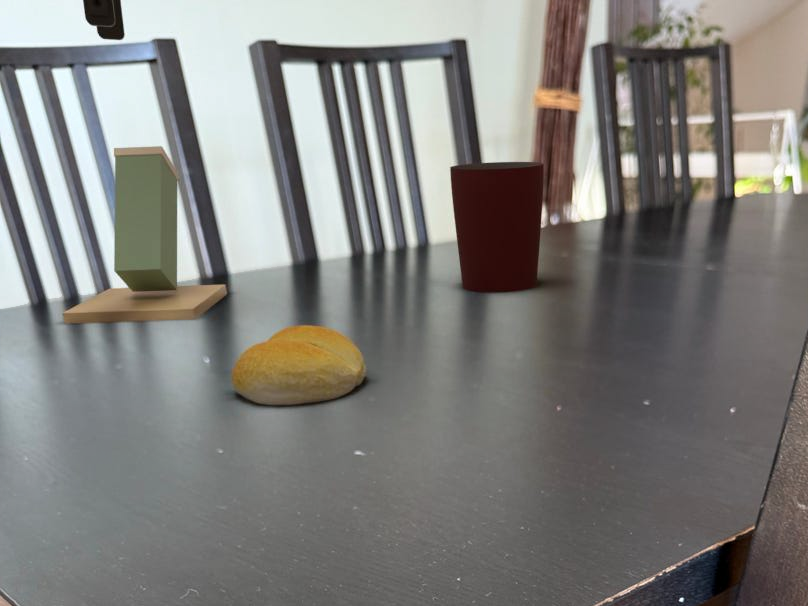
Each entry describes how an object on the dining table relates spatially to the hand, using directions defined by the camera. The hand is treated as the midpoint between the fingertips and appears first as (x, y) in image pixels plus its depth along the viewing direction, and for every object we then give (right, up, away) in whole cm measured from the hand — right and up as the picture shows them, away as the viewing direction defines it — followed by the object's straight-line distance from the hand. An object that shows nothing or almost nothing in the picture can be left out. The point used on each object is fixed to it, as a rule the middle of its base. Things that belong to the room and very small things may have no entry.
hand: (106, 32), depth 79 cm
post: (-1, -17, +11) cm, 20 cm away
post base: (0, -19, +12) cm, 23 cm away
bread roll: (+19, -34, -14) cm, 42 cm away
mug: (+34, -15, +17) cm, 41 cm away
